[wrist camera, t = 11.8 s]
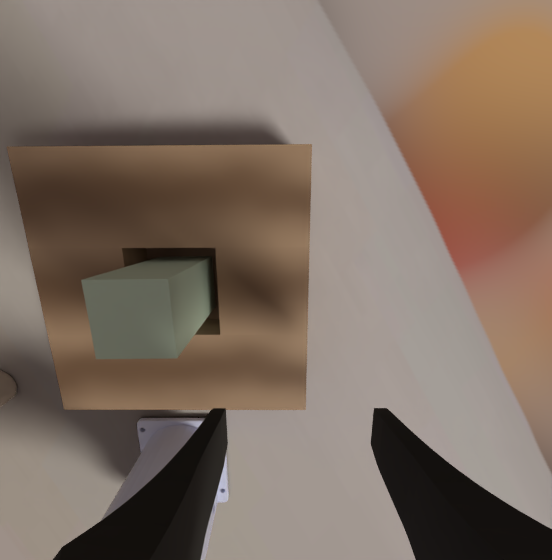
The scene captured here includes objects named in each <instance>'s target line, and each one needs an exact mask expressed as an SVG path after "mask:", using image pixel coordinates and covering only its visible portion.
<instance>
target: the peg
mask: <svg viewBox="0 0 552 560" xmlns="http://www.w3.org/2000/svg"><path fill="white" fill-rule="evenodd" d="M81 282H82V287H83V292H84V298H85V303H86V308H87V314H88V319H89V324H90V330H91V335H92V340H93V346H94V351H95V356H96V359H171V358H178V356H179V355H180V354H181V352H182V351H183V350H184V348H185V347H186V346H187V344H188V343H189V342H190V340H191V339H192V337H193V336H194V335H195V333H196V332H197V331H198V329H199V328H200V327H201V325H202V324H203V323H204V321H205V320H206V319H207V317H208V316H209V314H210V313H211V312H212V310H213V309H214V308H215V306H216V304H215V289H214V275H213V261H212V256H182V257H158V258H154V259H151V260H147V261H144V262H141V263H137V264H134V265H130V266H127V267H124V268H120V269H117V270H113V271H110V272H107V273H103V274H100V275H96V276H93V277H90V278H86V279H83V280H81Z"/></svg>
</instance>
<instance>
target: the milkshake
mask: <svg viewBox="0 0 552 560" xmlns="http://www.w3.org/2000/svg"><path fill="white" fill-rule="evenodd" d="M16 390H17V384H16V383H15V381H14V380H13V378H12V377H11V376H10V375H8V374H7V373H5V372H3V371H1V370H0V407H1V406H2V405H4V404H5V403H6V402H8V401H9V400H10V399H11V398H13V397H14V396H15V395H16Z"/></svg>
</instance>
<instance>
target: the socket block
mask: <svg viewBox="0 0 552 560" xmlns="http://www.w3.org/2000/svg"><path fill="white" fill-rule="evenodd" d="M7 151H8V155H9V160H10V164H11V169H12V173H13V178H14V183H15V187H16V192H17V196H18V201H19V205H20V210H21V215H22V219H23V224H24V228H25V233H26V237H27V242H28V247H29V251H30V256H31V260H32V265H33V269H34V274H35V279H36V283H37V288H38V292H39V297H40V301H41V306H42V311H43V315H44V320H45V324H46V329H47V333H48V338H49V343H50V347H51V352H52V356H53V361H54V365H55V370H56V375H57V379H58V384H59V388H60V393H61V397H62V402H63V407H64V410H212V409H213V408H226V410H306V368H307V325H308V283H309V241H310V199H311V157H312V144H286V145H155V146H24V147H7ZM182 256H212V261H213V275H214V289H215V304H216V306H215V308H214V309H213V310H212V312H211V313H210V314H209V316H208V317H207V319H206V320H205V321H204V323H203V324H202V325H201V327H200V328H199V329H198V331H197V332H196V333H195V335H194V336H193V337H192V339H191V340H190V342H189V343H188V344H187V346H186V347H185V348H184V350H183V351H182V352H181V354H180V355H179V356H178V358H171V359H96V356H95V351H94V346H93V340H92V335H91V330H90V324H89V319H88V314H87V308H86V303H85V298H84V292H83V287H82V282H81V280H83V279H86V278H90V277H93V276H96V275H100V274H103V273H107V272H110V271H113V270H117V269H120V268H124V267H127V266H130V265H134V264H137V263H141V262H144V261H147V260H151V259H154V258H158V257H182Z"/></svg>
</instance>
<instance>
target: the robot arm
mask: <svg viewBox="0 0 552 560" xmlns="http://www.w3.org/2000/svg"><path fill="white" fill-rule="evenodd" d="M143 428H144V429H143ZM137 431H138V437H139V444H140V451H141V454H140V456H139V457H138V459H137V461H136V463H135V464H134V466H133V468H132V469H131V471H130V473H129V474H128V476H127V478H126V479H125V481H124V483H123V484H122V486H121V488H120V490H119V491H118V493H117V495H116V496H115V498H114V500H113V501H112V503H111V505H110V506H109V508H108V510H107V511H106V513H105V515H104V517H103V518H102V520H101V521H100V522H99V523H97V524H96V525H95V526H93V527H92V528H90V529H89V530H87V531H86V532H84V533H83V534H81V535H80V536H78V537H77V538H75V539H74V540H72V541H71V542H69V543H68V544H66V545H65V546H63V547H62V548H61V550H60V551H59V552H58V554H57V555H56V556H55V558H54V559H53V560H205V558H206V553H207V549H208V544H209V539H210V535H211V530H212V525H213V521H214V516H215V511H216V507H217V502H226V501H227V500H228V496H229V491H228V474H227V457H226V450H227V444H228V442H227V425H226V408H213V409H212V410H211V411H210V412H209V414H208V415H207V416H206V418H141V419H139V421H138V422H137ZM371 446H372V449H373V453H374V456H375V459H376V462H377V465H378V468H379V471H380V473H381V475H382V478H383V480H384V482H385V485H386V487H387V489H388V492H389V494H390V496H391V498H392V501H393V503H394V505H395V508H396V510H397V512H398V514H399V517H400V519H401V521H402V524H403V526H404V529H405V531H406V534H407V536H408V539H409V541H410V544H411V547H412V550H413V553H414V556H415V559H416V560H552V529H550V528H548V527H546V526H545V525H543V524H541V523H539V522H538V521H536V520H534V519H532V518H531V517H529V516H527V515H525V514H524V513H522V512H520V511H518V510H517V509H515V508H514V507H512V506H510V505H509V504H507V503H505V502H504V501H502V500H501V499H499V498H498V497H496V496H494V495H493V494H491V493H490V492H488V491H487V490H485V489H484V488H482V487H481V486H479V485H478V484H476V483H475V482H474V481H472V480H471V479H469V478H468V477H467V476H465V475H464V474H463V473H461V472H460V471H458V470H457V469H456V468H454V467H453V466H452V465H451V464H449V463H448V462H447V461H445V460H444V459H443V458H442V457H441V456H439V455H438V454H437V453H436V452H434V451H433V450H432V449H431V448H430V447H429V446H427V445H426V444H425V443H424V442H423V441H422V440H421V439H419V438H418V437H417V436H416V435H415V434H414V433H413V432H412V431H411V430H410V429H408V428H407V427H406V426H405V425H404V424H403V423H402V422H401V421H400V420H399V419H398V418H397V417H396V416H395V415H394V414H392V413H391V412H390V411H389V410H388V409H387V408H374V414H373V425H372V436H371Z"/></svg>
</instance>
